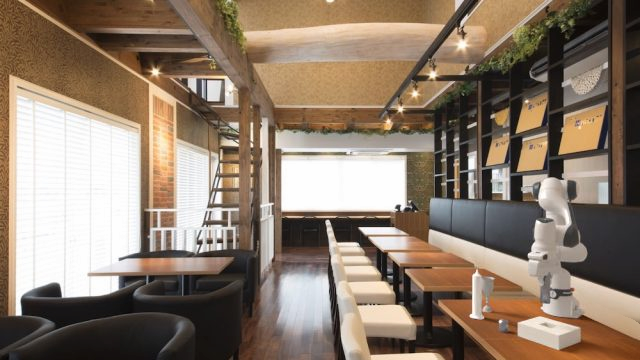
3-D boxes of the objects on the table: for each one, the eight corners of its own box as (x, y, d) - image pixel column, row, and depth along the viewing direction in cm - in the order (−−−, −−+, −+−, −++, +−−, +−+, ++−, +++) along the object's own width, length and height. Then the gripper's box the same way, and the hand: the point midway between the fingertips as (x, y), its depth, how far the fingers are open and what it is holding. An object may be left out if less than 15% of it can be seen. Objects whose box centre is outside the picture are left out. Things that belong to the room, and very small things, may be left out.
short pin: (502, 329, 189) (502, 318, 189) (510, 331, 186) (510, 321, 186) (497, 330, 187) (497, 319, 187) (504, 333, 184) (504, 322, 184)
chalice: (493, 309, 219) (494, 277, 219) (495, 313, 212) (495, 279, 212) (479, 308, 221) (479, 276, 221) (480, 312, 215) (480, 278, 215)
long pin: (543, 300, 182) (543, 270, 182) (552, 303, 178) (552, 271, 179) (538, 302, 180) (538, 271, 180) (547, 304, 176) (547, 272, 177)
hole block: (539, 328, 190) (539, 316, 190) (580, 341, 175) (580, 327, 175) (517, 335, 181) (517, 322, 181) (558, 350, 165) (558, 335, 165)
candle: (485, 320, 202) (485, 270, 202) (470, 319, 203) (471, 270, 203) (482, 315, 209) (483, 268, 209) (468, 314, 210) (468, 267, 210)
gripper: (551, 251, 188) (551, 281, 187) (525, 254, 177) (525, 285, 177) (564, 253, 182) (564, 283, 182) (539, 256, 172) (539, 289, 171)
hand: (545, 284), depth 179 cm, fingers closed on long pin, 4 cm apart
